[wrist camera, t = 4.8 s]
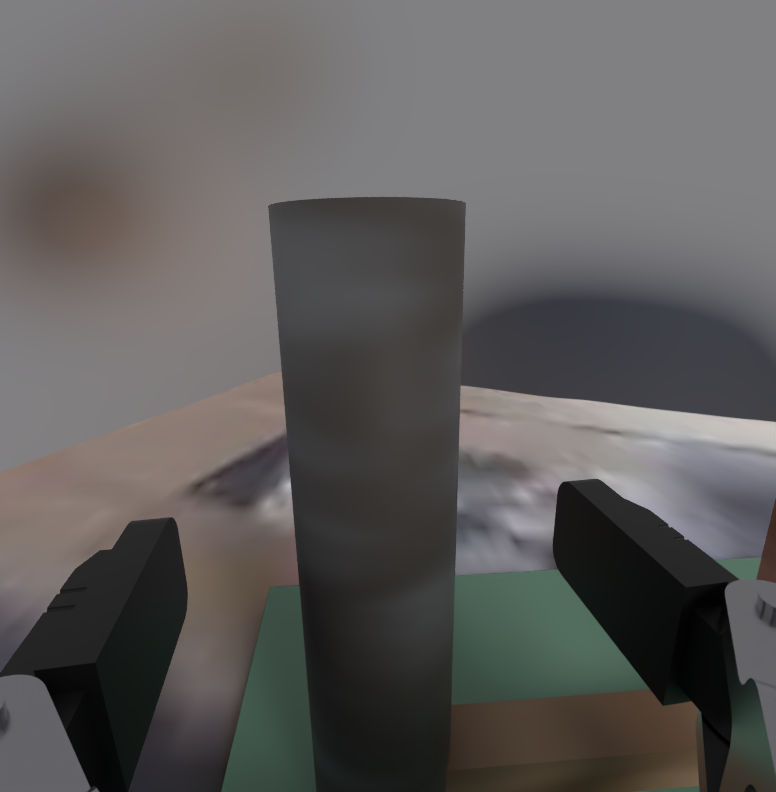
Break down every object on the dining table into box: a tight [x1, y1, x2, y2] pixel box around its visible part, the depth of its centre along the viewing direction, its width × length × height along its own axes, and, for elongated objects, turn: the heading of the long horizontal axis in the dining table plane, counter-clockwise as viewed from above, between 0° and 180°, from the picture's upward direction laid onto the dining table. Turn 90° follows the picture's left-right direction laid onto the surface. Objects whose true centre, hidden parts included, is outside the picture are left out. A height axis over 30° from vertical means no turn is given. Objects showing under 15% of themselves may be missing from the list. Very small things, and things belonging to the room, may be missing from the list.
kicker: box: [268, 197, 776, 792], centre depth 10 cm, size 15×5×13 cm, turn 94°
